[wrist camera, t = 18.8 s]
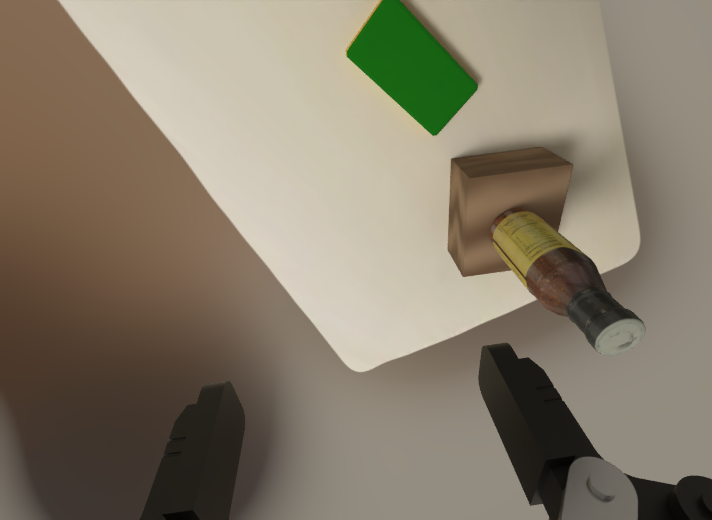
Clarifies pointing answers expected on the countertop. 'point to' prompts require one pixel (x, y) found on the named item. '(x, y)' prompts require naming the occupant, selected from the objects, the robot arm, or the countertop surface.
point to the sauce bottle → (564, 280)
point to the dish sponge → (411, 65)
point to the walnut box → (500, 200)
